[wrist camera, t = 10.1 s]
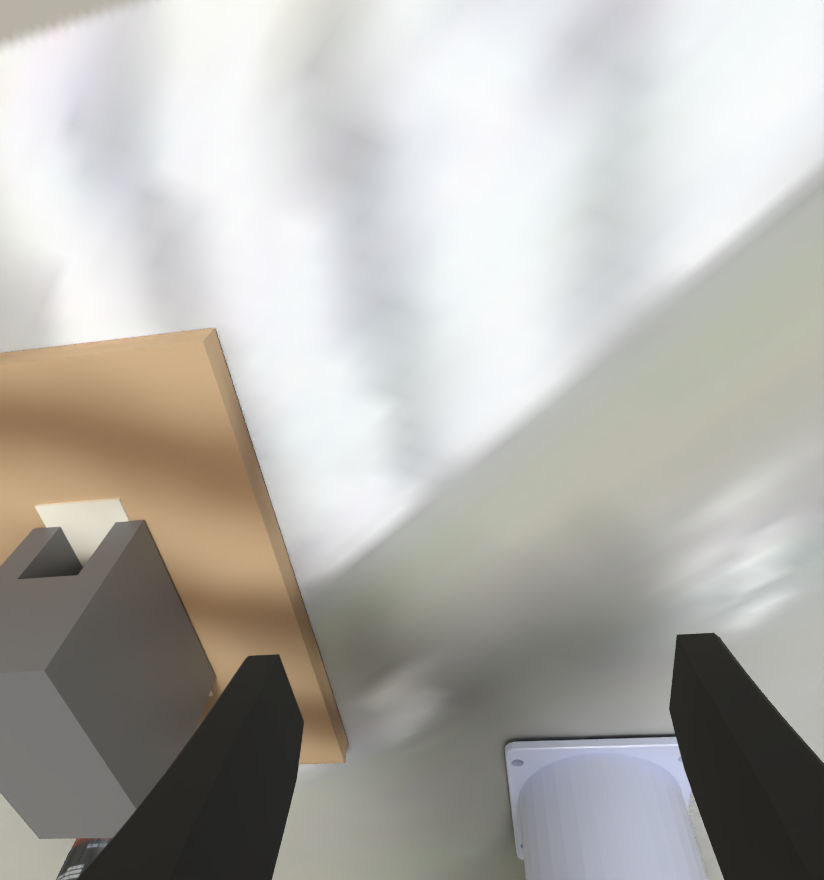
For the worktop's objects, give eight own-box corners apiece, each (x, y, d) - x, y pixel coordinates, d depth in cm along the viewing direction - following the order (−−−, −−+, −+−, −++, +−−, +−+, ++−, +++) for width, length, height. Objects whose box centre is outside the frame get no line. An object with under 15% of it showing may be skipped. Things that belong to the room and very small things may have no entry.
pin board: (347, 741, 29) (337, 809, 26) (102, 749, 30) (69, 813, 28) (214, 327, 19) (176, 372, 16) (-148, 370, 20) (-235, 417, 18)
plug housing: (215, 677, 25) (154, 837, 20) (121, 681, 26) (39, 838, 21) (143, 520, 21) (44, 670, 16) (33, 528, 22) (-97, 677, 17)
